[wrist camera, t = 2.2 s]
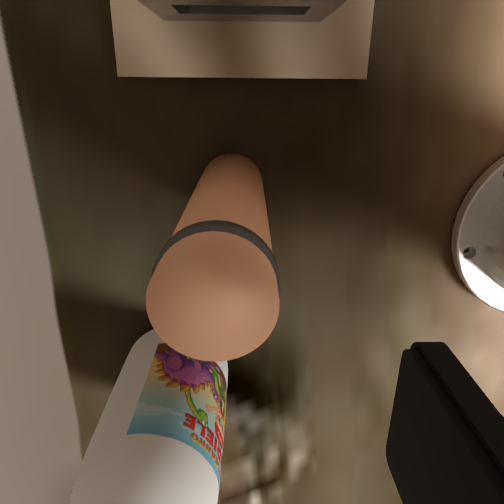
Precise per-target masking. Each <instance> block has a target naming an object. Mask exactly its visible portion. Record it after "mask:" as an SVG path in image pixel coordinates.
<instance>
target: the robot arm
mask: <svg viewBox="0 0 504 504" xmlns="http://www.w3.org/2000/svg"><path fill="white" fill-rule="evenodd" d="M503 172H504V156H503V157H501V158H500V159H499V160H498V161H496V162H495V163H494V164H492V165H491V166H490V167H489V168H488V169H487V170H486V171H485V172H484V173H483V174H482V175H481V176H480V177H479V178H478V179H477V180H476V182H475V183H474V185H473V186H472V188H471V189H470V190H469V192H468V193H467V195H466V196H465V198H464V200H463V202H462V204H461V206H460V208H459V211H458V213H457V216H456V219H455V223H454V227H453V230H452V243H451V249H452V256H453V262H454V265H455V268H456V270H457V273H458V275H459V277H460V278H461V280H462V281H463V283H464V284H465V286H466V287H467V288H468V289H469V290H470V291H471V292H472V293H473V294H474V295H475V296H476V297H477V298H478V299H480V300H481V301H483V302H484V303H486V304H487V305H488V306H490V307H492V308H495V309H497V310H500V311H502V312H504V173H503ZM386 457H387V462H388V466H389V469H390V471H391V474H392V476H393V479H394V482H395V484H396V487H397V489H398V492H399V495H400V497H401V500H402V502H403V504H504V417H503V416H502V415H501V414H500V413H499V412H498V410H497V409H496V408H495V407H494V405H493V404H492V403H491V401H490V400H489V399H488V398H487V396H486V395H485V394H484V392H483V391H482V390H481V389H480V387H479V386H478V385H477V383H476V382H475V381H474V380H473V378H472V377H471V376H470V374H469V373H468V372H467V371H466V369H465V368H464V367H463V365H462V364H461V363H460V362H459V360H458V359H457V358H456V356H455V355H454V354H453V353H452V351H451V350H450V349H449V347H448V346H447V345H446V344H445V343H443V342H415V343H413V344H412V346H411V348H410V349H406V350H404V351H403V353H402V358H401V363H400V369H399V375H398V381H397V387H396V392H395V398H394V404H393V410H392V416H391V421H390V427H389V433H388V439H387V445H386Z"/></svg>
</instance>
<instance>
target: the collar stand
mask: <svg viewBox="0 0 504 504" xmlns="http://www.w3.org/2000/svg"><path fill="white" fill-rule="evenodd" d="M374 2H375V0H110V7H111V17H112V27H113V36H114V46H115V56H116V66H117V75H118V77H190V78H294V79H367V70H368V60H369V50H370V41H371V31H372V21H373V11H374Z"/></svg>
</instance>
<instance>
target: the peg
mask: <svg viewBox="0 0 504 504" xmlns="http://www.w3.org/2000/svg"><path fill="white" fill-rule="evenodd" d="M279 296H280V279H279V273H278V267H277V263H276V260H275V257H274V255H273V252H272V245H271V238H270V231H269V224H268V217H267V210H266V203H265V196H264V189H263V182H262V176H261V173H260V171H259V169H258V168H257V166H256V165H255V164H254V163H253V162H252V161H251V160H250V159H248V158H247V157H245V156H242V155H239V154H232V153H231V154H224V155H221V156H218V157H216V158H215V159H213V160H212V161H211V162H210V163H209V164H208V165H207V166H206V168H205V170H204V172H203V174H202V176H201V178H200V180H199V182H198V184H197V186H196V188H195V190H194V192H193V194H192V196H191V198H190V200H189V202H188V204H187V206H186V208H185V210H184V212H183V215H182V217H181V219H180V221H179V223H178V225H177V227H176V229H175V231H174V233H173V235H172V237H171V238H170V239H169V240H168V242H167V243H166V244H165V246H164V247H163V249H162V250H161V252H160V254H159V256H158V258H157V260H156V262H155V264H154V267H153V270H152V274H151V280H150V282H149V285H148V288H147V293H146V309H147V314H148V317H149V320H150V322H151V325H152V327H153V328H154V330H155V331H156V333H157V334H158V336H159V337H160V338H161V339H162V340H163V341H164V342H165V343H166V344H167V345H168V346H170V347H171V348H173V349H174V350H175V351H177V352H179V353H181V354H183V355H185V356H188V357H190V358H194V359H198V360H203V361H226V360H232V359H235V358H239V357H241V356H244V355H246V354H248V353H250V352H251V351H253V350H255V349H256V348H257V347H259V346H260V345H261V344H262V343H263V342H264V341H265V340H266V339H267V338H268V336H269V335H270V334H271V332H272V330H273V329H274V327H275V324H276V322H277V318H278V315H279V307H280V306H279Z"/></svg>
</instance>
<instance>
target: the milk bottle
mask: <svg viewBox="0 0 504 504" xmlns="http://www.w3.org/2000/svg"><path fill="white" fill-rule="evenodd" d="M227 382H228V364H227V360H226V361H203V360H198V359H194V358H190V357H188V356H185V355H183V354H181V353H179V352H177V351H175V350H174V349H173V348H171V347H170V346H168V345H167V344H166V343H165V342H164V341H163V340H162V339H161V338H160V337H159V336H158V334H157V333H156V331H155V330H154V329H152V330H151V331H149V332H147V333H145V334H144V335H142V336H141V337H140V338H139V339H138V340H137V341H136V342H135V344H134V345H133V347H132V348H131V350H130V352H129V354H128V356H127V358H126V361H125V363H124V365H123V367H122V370H121V372H120V374H119V376H118V379H117V381H116V383H115V386H114V388H113V390H112V392H111V395H110V397H109V399H108V402H107V404H106V406H105V409H104V411H103V413H102V416H101V418H100V420H99V423H98V425H97V427H96V430H95V432H94V434H93V437H92V439H91V442H90V444H89V446H88V449H87V451H86V454H85V456H84V459H83V461H82V464H81V467H80V469H79V472H78V475H77V477H76V480H75V484H74V488H73V492H72V495H71V499H70V504H217V502H218V493H219V485H220V476H221V465H222V452H223V440H224V426H225V412H226V397H227Z"/></svg>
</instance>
